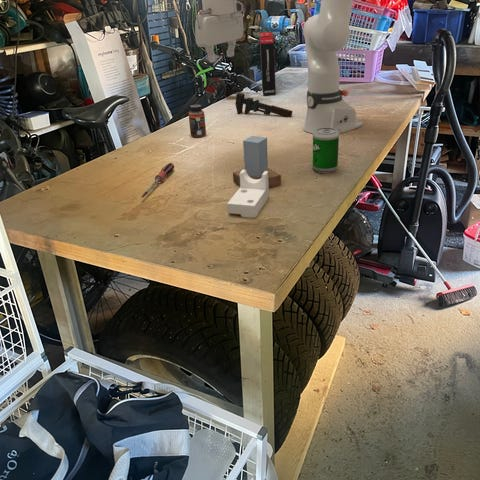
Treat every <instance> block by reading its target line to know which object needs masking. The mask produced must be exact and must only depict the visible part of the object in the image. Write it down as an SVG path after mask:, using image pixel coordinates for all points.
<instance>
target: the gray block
mask: <svg viewBox="0 0 480 480" xmlns="http://www.w3.org/2000/svg"><path fill="white" fill-rule="evenodd" d="M242 141H243V144H242V145H243V147H242V149H243V165H244V169H245V170H246V172H247V175H248V176H253V177H259V178H260V177H261V176H262V174H263V173H264V171H268V168H269V161H268V160H269V156H268V137H264V136H256V135H251V136H249V137H247V138H246V139H244V140H242Z"/></svg>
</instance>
